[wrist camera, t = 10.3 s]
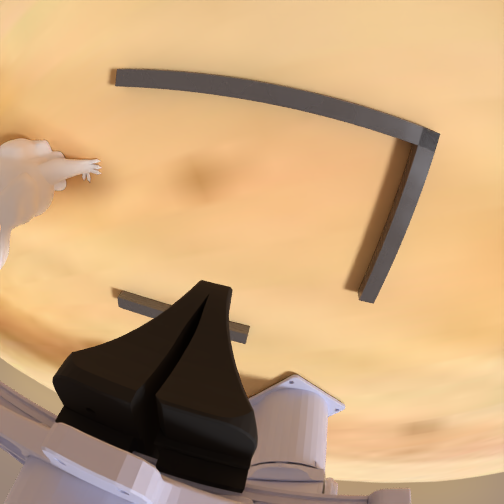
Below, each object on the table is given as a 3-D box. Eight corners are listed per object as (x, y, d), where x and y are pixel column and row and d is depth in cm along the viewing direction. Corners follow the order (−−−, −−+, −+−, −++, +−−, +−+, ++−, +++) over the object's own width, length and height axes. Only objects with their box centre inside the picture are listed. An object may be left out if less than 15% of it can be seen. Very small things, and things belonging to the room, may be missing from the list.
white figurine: (105, 160, 22) (12, 214, 14) (93, 239, 26) (22, 307, 18) (11, 122, 21) (-72, 157, 13) (8, 192, 25) (-61, 238, 17)
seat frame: (340, 356, 27) (340, 364, 26) (123, 300, 28) (118, 306, 28) (434, 131, 17) (440, 133, 16) (124, 68, 18) (117, 69, 17)
